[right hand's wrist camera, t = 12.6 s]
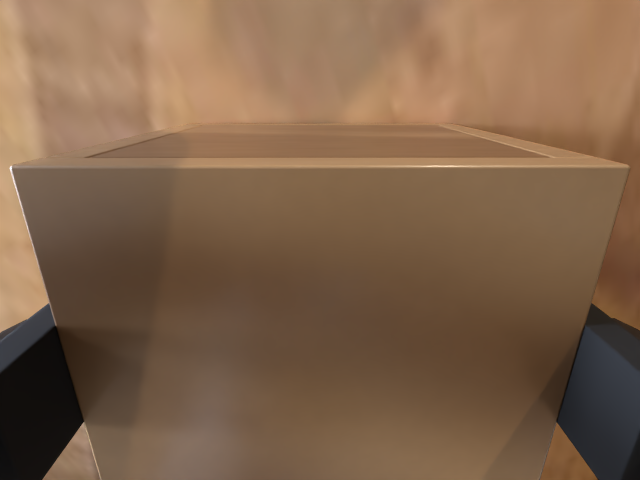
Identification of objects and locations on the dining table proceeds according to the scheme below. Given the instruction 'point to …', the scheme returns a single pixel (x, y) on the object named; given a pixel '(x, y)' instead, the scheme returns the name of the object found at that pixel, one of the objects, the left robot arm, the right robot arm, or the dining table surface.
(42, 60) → the dining table surface
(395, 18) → the dining table surface
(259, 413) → the cabinet
